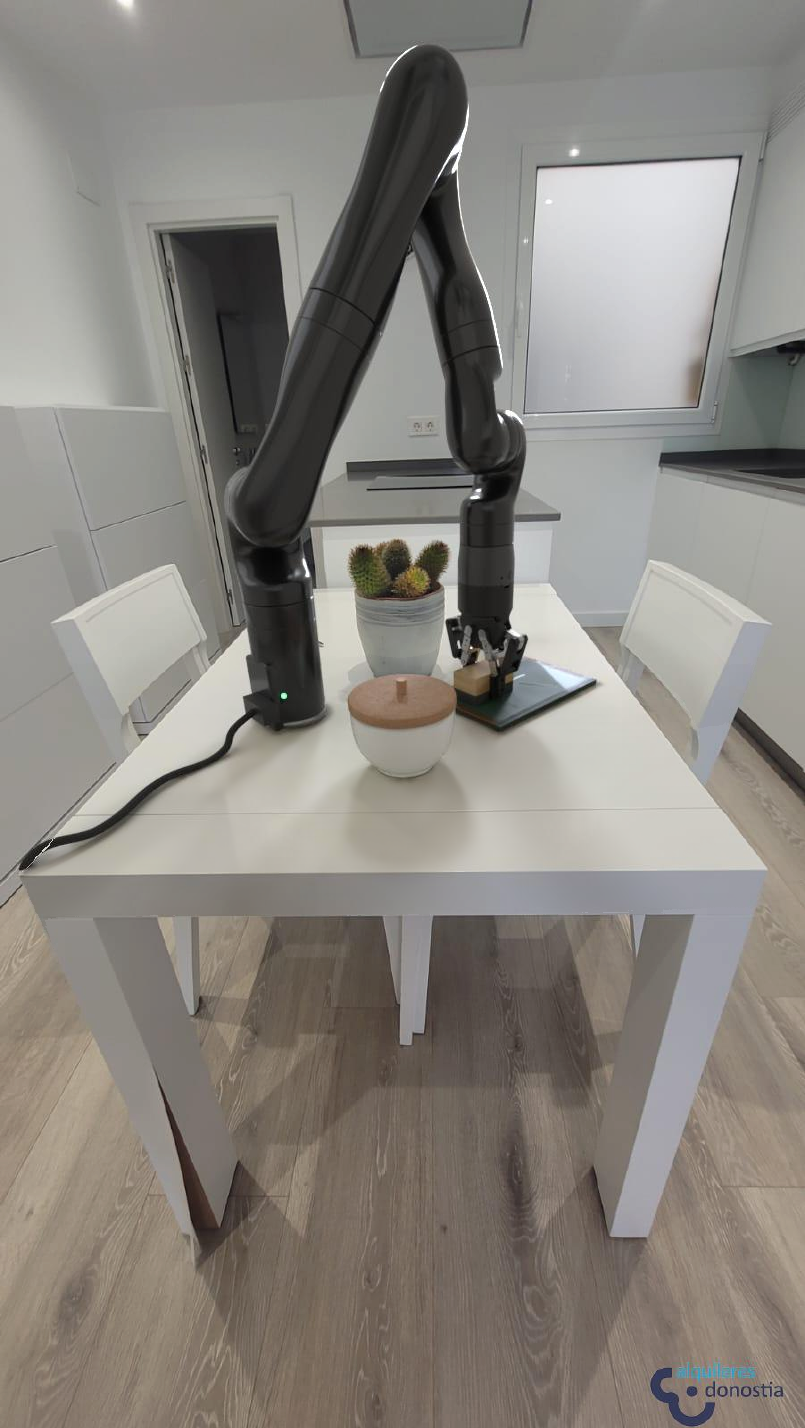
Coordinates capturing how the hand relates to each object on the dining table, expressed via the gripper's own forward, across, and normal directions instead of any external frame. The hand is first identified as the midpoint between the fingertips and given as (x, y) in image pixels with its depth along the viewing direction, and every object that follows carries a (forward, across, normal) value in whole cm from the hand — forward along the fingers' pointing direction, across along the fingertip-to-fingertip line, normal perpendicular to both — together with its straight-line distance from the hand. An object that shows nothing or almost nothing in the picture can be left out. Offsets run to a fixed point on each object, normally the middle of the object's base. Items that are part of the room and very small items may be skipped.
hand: (483, 692), depth 87 cm
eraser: (0, 0, 0) cm, 0 cm away
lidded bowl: (+1, +6, -20) cm, 21 cm away
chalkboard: (+1, +2, +5) cm, 5 cm away
